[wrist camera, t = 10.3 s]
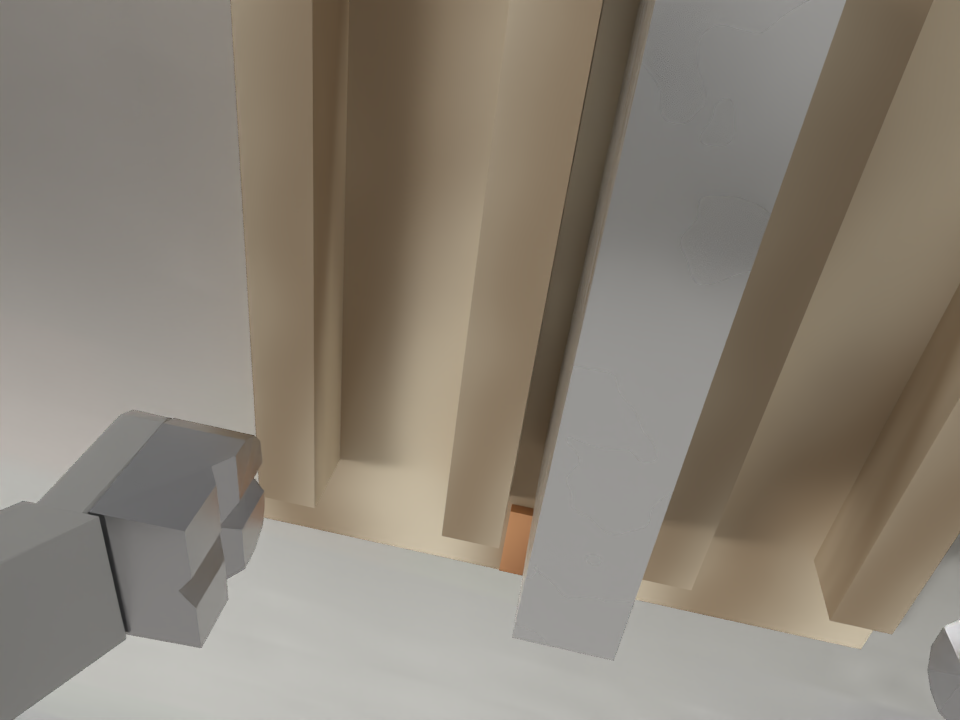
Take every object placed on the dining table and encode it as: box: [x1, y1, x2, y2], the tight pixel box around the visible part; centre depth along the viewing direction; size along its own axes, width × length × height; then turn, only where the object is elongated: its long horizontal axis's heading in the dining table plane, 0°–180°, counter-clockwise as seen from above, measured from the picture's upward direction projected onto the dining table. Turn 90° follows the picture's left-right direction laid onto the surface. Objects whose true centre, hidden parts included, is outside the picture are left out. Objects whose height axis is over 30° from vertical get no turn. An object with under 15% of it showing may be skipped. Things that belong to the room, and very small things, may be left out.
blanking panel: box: [512, 0, 846, 661], centre depth 14 cm, size 12×2×6 cm, turn 173°
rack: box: [230, 0, 960, 649], centre depth 16 cm, size 18×22×3 cm
